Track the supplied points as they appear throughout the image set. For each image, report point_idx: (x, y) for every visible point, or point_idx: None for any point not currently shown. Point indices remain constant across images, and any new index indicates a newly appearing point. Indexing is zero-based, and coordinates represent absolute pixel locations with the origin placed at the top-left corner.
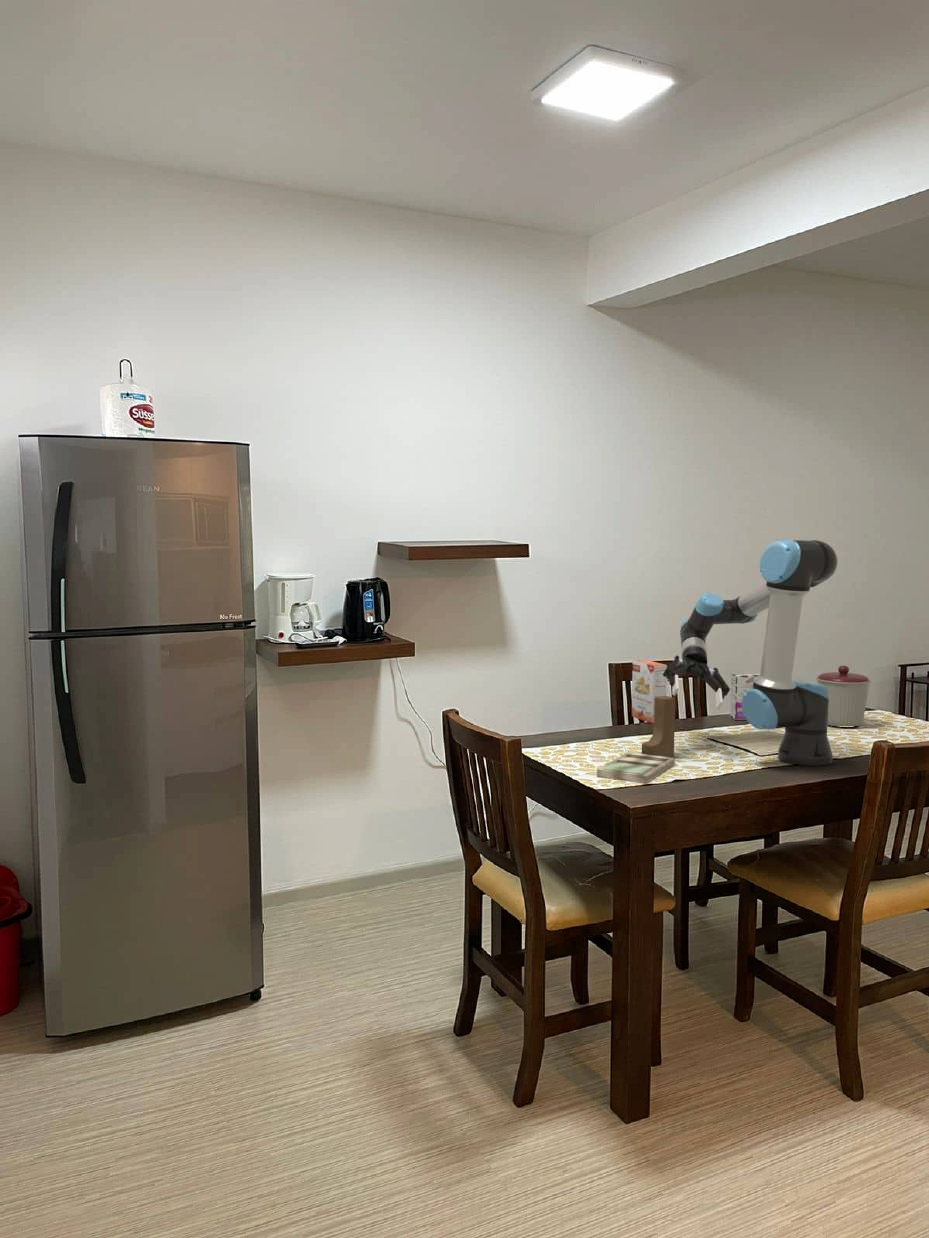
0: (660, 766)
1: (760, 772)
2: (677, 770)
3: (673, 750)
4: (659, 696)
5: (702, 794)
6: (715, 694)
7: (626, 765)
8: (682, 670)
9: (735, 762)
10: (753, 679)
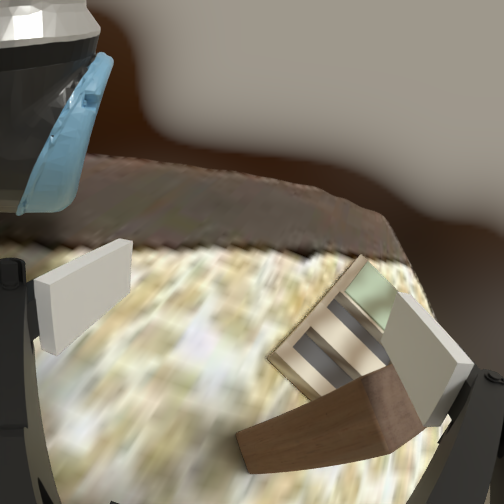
0: (328, 295)
1: (106, 227)
2: (278, 312)
3: (245, 429)
4: (419, 421)
5: (290, 191)
6: (60, 347)
7: (385, 315)
8: (456, 437)
9: None
10: None
